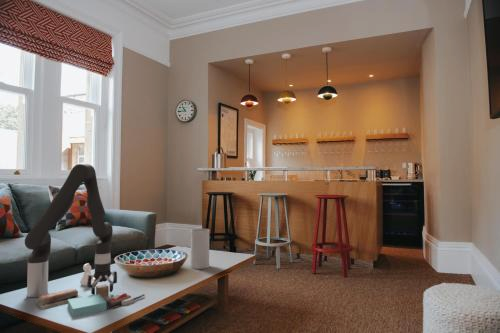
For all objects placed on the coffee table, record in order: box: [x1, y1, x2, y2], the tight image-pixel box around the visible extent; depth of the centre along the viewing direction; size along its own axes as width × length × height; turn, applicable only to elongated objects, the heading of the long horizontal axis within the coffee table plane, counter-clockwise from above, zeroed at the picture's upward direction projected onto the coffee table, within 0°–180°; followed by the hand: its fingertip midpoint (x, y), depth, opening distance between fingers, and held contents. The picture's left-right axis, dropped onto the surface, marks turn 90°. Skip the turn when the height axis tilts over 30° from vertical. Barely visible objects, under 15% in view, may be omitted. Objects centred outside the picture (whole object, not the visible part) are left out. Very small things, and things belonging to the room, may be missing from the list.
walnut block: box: [95, 283, 110, 298], centre depth 181 cm, size 5×5×5 cm
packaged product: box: [35, 288, 83, 310], centre depth 173 cm, size 18×5×10 cm
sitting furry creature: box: [79, 262, 95, 287], centre depth 199 cm, size 10×9×12 cm
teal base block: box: [67, 293, 107, 318], centre depth 164 cm, size 14×14×4 cm
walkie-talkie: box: [104, 292, 146, 309], centre depth 173 cm, size 9×4×20 cm
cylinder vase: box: [190, 228, 210, 270], centre depth 239 cm, size 12×12×25 cm
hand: (102, 293), depth 181 cm, fingers open, 8 cm apart
